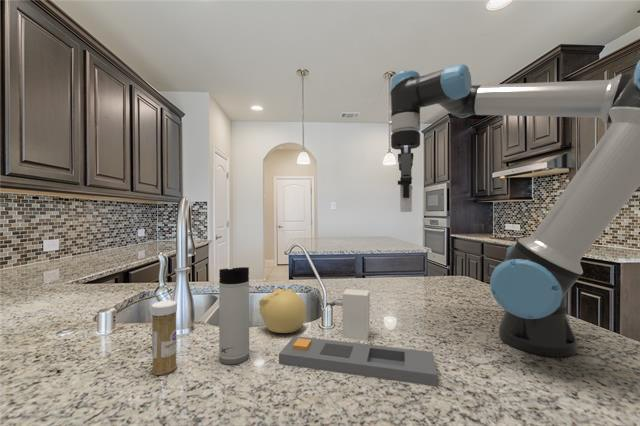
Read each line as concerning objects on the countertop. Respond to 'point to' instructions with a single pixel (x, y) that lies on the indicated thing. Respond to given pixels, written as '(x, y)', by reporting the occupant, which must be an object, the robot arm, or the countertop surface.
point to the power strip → (361, 360)
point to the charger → (355, 313)
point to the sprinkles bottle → (164, 337)
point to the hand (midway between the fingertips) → (405, 212)
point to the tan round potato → (282, 311)
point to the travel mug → (233, 315)
